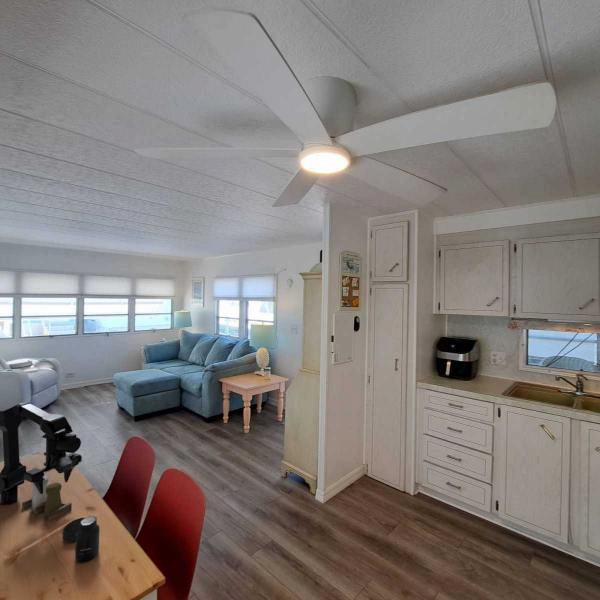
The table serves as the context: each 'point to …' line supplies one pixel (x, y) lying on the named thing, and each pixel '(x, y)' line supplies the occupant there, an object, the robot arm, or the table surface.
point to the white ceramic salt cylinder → (36, 496)
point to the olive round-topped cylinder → (53, 498)
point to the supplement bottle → (87, 540)
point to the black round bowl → (71, 530)
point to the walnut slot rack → (40, 509)
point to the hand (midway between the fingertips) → (54, 487)
